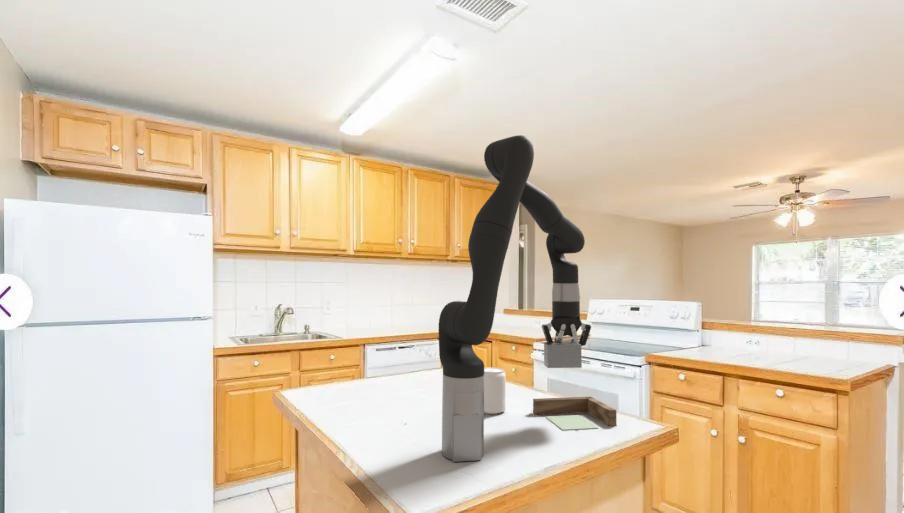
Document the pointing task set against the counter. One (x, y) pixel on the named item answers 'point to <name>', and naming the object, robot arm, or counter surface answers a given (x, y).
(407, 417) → the counter surface
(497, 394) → the beverage can
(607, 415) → the wooden corner fixture
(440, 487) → the counter surface
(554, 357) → the bracket
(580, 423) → the mat
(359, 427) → the counter surface
